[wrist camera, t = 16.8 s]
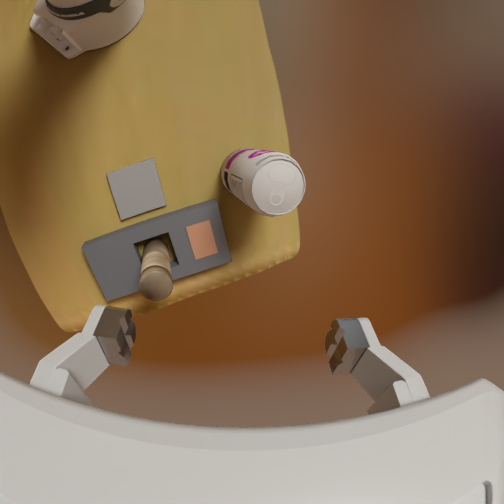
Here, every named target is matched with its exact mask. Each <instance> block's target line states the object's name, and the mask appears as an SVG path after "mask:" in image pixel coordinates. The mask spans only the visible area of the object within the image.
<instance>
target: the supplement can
mask: <svg viewBox="0 0 504 504" xmlns="http://www.w3.org/2000/svg"><path fill="white" fill-rule="evenodd" d="M221 178H222V181H223V185H224V186H225V187H226V188H227V190H228V191H229V192H231V193H232V194H233V195H235V196H236V197H237V198H238V199H240V200H241V201H242V202H244V203H245V204H246V205H248V206H249V207H250V208H251V209H253V210H254V211H256V212H258V213H259V214H261V215H265V216H270V217H273V216H279V215H283V214H286V213H288V212H290V211H291V210H293V209H295V208H296V206H297V205H298V204H299V203H300V202H301V200H302V198H303V195H304V193H305V185H306V183H305V178H304V174H303V172H302V170H301V168H300V166H299V165H298V163H297V162H296V161H295V160H294V159H293V158H291V157H290V156H289V155H286V154H283V153H279V152H273V151H265V150H257V149H248V148H246V149H238V150H236V151H234V152H232V153H231V154H230V155H229V156H228V157H227V158H226V159H225V160H224V163H223V165H222V167H221Z"/></svg>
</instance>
